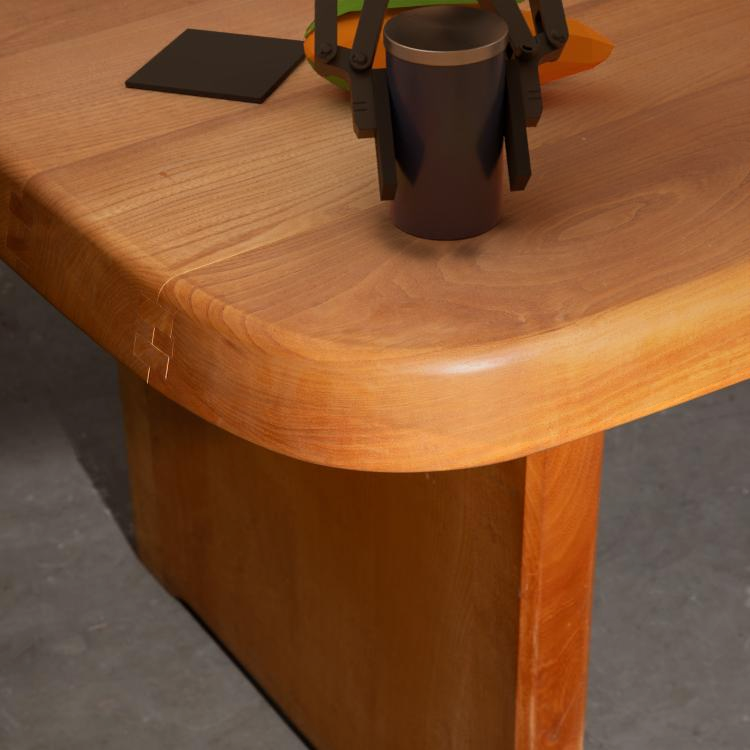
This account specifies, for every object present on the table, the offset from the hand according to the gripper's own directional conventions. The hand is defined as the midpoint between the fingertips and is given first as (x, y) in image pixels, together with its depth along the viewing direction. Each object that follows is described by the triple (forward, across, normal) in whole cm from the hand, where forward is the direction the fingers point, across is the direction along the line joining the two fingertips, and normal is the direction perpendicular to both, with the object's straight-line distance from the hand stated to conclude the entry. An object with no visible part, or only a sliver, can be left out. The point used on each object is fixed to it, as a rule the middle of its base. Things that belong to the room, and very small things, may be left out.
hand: (455, 187), depth 78 cm
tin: (0, 0, -5) cm, 5 cm away
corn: (-11, -3, -16) cm, 20 cm away
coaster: (-17, +12, -22) cm, 30 cm away
